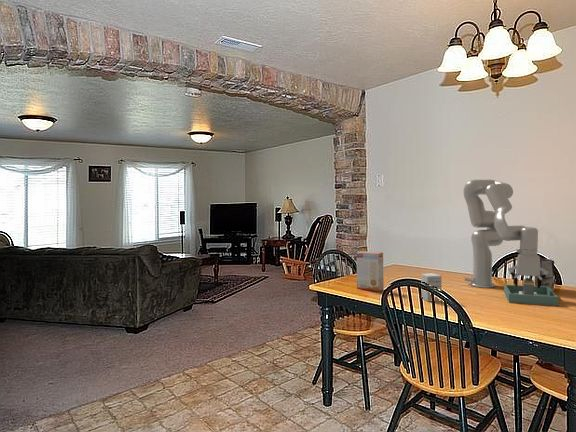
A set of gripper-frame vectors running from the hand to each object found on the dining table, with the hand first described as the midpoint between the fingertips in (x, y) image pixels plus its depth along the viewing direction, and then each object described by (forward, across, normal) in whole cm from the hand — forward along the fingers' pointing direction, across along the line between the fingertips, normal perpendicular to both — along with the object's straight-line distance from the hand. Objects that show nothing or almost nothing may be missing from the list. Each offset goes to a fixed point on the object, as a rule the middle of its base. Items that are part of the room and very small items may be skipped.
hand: (527, 286), depth 203 cm
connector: (+5, +1, -1) cm, 5 cm away
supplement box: (+6, -44, -20) cm, 49 cm away
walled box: (+5, +1, -3) cm, 6 cm away
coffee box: (+6, +11, +22) cm, 26 cm away
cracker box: (+7, -77, -6) cm, 77 cm away
